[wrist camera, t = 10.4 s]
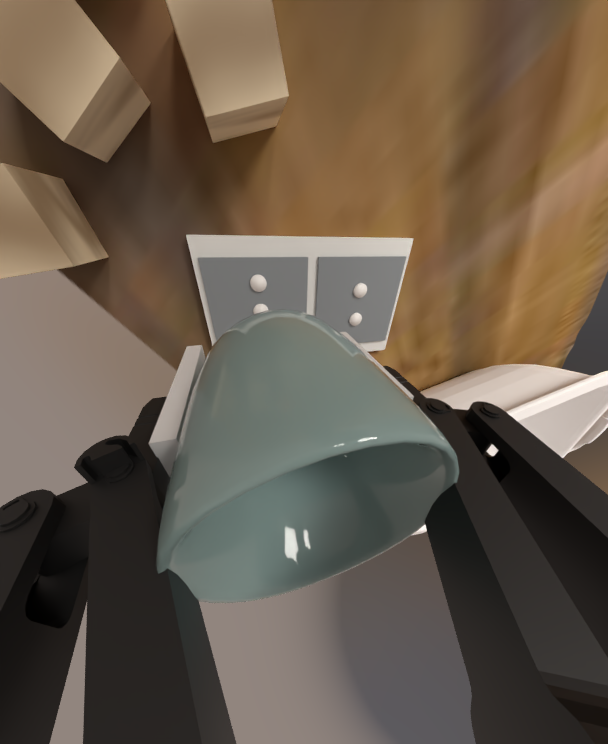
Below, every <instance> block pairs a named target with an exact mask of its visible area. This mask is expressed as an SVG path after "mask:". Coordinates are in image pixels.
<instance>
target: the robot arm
mask: <svg viewBox="0 0 608 744" xmlns="http://www.w3.org/2000/svg"><path fill="white" fill-rule="evenodd" d="M340 333H341V334H343V335H344V336H345V337H346V338H348V339H349V340H350V341H351V342H352V343H353V344H355V345H356V346H357V347H358V348H359V349H360V350H361V351H362V352H363V353H364V354H366V355H367V356H368V357H369V358H370V359H371V360H372V361H373V362H374V363H375V364H376V365H377V366H378V367H379V368H380V369H381V370H382V371H383V372H384V373H385V374H386V375H387V376H388V377H389V378H390V379H391V380H392V381H393V382H394V383H396V384H397V385H398V386H399V387H400V388H401V389H402V390H403V391H404V392H405V393H406V394H407V395H408V396H409V397H410V398H411V399H412V400H413V401H414V402H415V403H416V404H417V405H418V406H419V407H420V409H421V410H422V411H423V412H424V413H425V414H426V415H427V416H428V417H429V418H430V419H431V420H432V421H433V423H434V424H435V425H436V426H437V427H438V429H439V430H440V431H441V432H442V433H443V435H444V436H445V438H446V439H447V440H448V442H449V443H450V444H451V446H452V447H453V449H454V450H455V452H456V454H457V459H458V465H459V476H458V480H457V483H454V484H453V485H452V486H450V487H449V488H448V489H447V490H445V491H444V492H443V493H441V494H440V496H439V497H438V498H437V499H436V501H435V502H434V503H433V504H432V506H431V508H430V510H429V512H428V514H427V517H426V519H425V525H426V529H427V532H428V536H429V539H430V543H431V546H432V550H433V554H434V557H435V561H436V564H437V567H438V571H439V574H440V578H441V582H442V585H443V588H444V592H445V596H446V599H447V603H448V606H449V610H450V613H451V617H452V620H453V624H454V627H455V631H456V635H457V638H458V642H459V645H460V649H461V652H462V656H463V659H464V663H465V666H466V670H467V673H468V676H469V681H470V685H471V692H472V702H471V720H472V727H473V732H474V736H475V741H476V744H608V495H607V494H606V493H605V492H604V491H602V490H601V489H600V488H599V487H597V486H596V485H595V484H594V483H592V482H591V481H590V480H589V479H587V478H586V477H585V476H584V475H583V474H581V473H580V472H579V471H578V470H577V469H575V468H574V467H573V466H572V465H570V464H569V463H568V462H567V461H565V460H564V459H563V458H562V457H561V456H559V455H558V454H557V453H556V452H554V451H553V450H552V449H551V448H550V447H548V446H547V445H546V444H545V443H543V442H542V441H541V440H540V439H538V438H537V437H536V436H535V435H534V434H532V433H531V432H530V431H529V430H527V429H526V428H525V427H524V426H522V425H521V424H520V423H519V422H518V421H516V420H515V419H514V418H513V417H511V416H510V415H509V414H508V413H507V412H505V411H504V410H502V409H501V408H499V407H498V406H495V405H493V404H491V403H488V402H482V401H476V402H473V403H472V404H471V406H470V408H469V409H468V410H462V409H452V407H451V406H450V405H448V404H447V403H445V402H443V401H441V400H438V399H434V398H426V397H425V396H424V395H423V394H421V393H420V392H419V391H418V390H417V389H416V388H415V387H414V386H413V385H411V384H410V383H409V382H407V380H406V379H405V378H404V377H402V376H401V375H400V374H399V373H398V372H397V371H396V370H394V369H392V368H390V367H388V366H382V365H380V364H379V363H378V362H377V361H376V360H375V359H374V358H373V357H372V356H371V355H370V354H369V353H368V352H367V351H366V350H365V349H364V348H363V347H361V346H360V345H359V344H358V343H357V342H356V341H355V340H354V339H353V338H352V337H351V336H350V335H349V334H348V333H347V332H340ZM204 361H205V355H204V351H203V347H202V345H196V346H187V347H186V350H185V353H184V355H183V358H182V360H181V363H180V365H179V368H178V370H177V373H176V375H175V378H174V380H173V383H172V385H171V388H170V391H169V393H168V396H167V397H161V398H153V399H152V400H151V401H149V402H148V403H147V404H146V405H145V406H144V407H143V409H142V411H141V413H140V415H139V418H138V419H137V421H136V423H135V426H134V427H133V429H132V431H131V432H130V435H129V436H114V437H110V438H107V439H105V440H102V441H100V442H98V443H96V444H95V445H93V446H92V447H90V448H89V449H88V450H86V451H85V452H84V453H83V454H82V455H81V456H80V457H79V458H78V460H77V462H76V464H75V467H74V468H75V469H76V470H77V471H78V472H79V473H80V474H81V475H82V476H83V477H84V478H85V479H86V480H87V481H88V483H86V484H84V485H82V486H79V487H76V488H74V489H72V490H69V491H67V492H65V493H63V494H60V495H57V496H56V495H54V494H53V493H52V492H51V491H47V490H43V489H42V490H36V491H31V492H29V493H26V494H24V495H21V496H19V497H17V498H15V499H13V500H12V501H10V502H8V503H7V504H5V505H3V506H2V507H1V508H0V744H49V743H50V739H51V735H52V731H53V728H54V724H55V720H56V716H57V712H58V709H59V705H60V701H61V697H62V693H63V690H64V686H65V682H66V678H67V675H68V671H69V667H70V663H71V659H72V656H73V652H74V648H75V644H76V640H77V636H78V633H79V629H80V625H81V621H82V617H83V614H84V610H85V606H86V602H87V633H86V666H85V667H86V668H85V700H84V702H85V703H84V734H83V744H236V741H235V737H234V734H233V729H232V726H231V722H230V719H229V714H228V711H227V707H226V703H225V699H224V696H223V692H222V688H221V684H220V680H219V677H218V673H217V670H216V665H215V661H214V658H213V654H212V650H211V646H210V642H209V639H208V635H207V631H206V628H205V624H204V620H203V616H202V612H201V609H200V605H199V601H198V600H197V598H196V597H195V596H194V595H193V593H192V592H191V590H190V589H189V587H188V586H187V584H186V583H185V582H184V581H183V580H182V579H181V578H180V577H179V576H178V575H177V574H176V573H174V572H173V571H171V570H169V569H168V568H167V569H166V570H165V571H163V572H161V573H159V574H158V571H157V569H156V567H155V566H156V548H157V542H158V535H159V529H160V523H161V517H162V511H163V507H164V502H165V497H166V492H167V488H168V484H169V480H170V475H171V471H172V467H173V463H174V459H175V455H176V451H177V447H178V443H179V439H180V435H181V431H182V427H183V423H184V419H185V416H186V412H187V408H188V405H189V401H190V398H191V394H192V391H193V388H194V385H195V382H196V379H197V376H198V374H199V371H200V369H201V367H202V364H203V363H204ZM492 444H493V445H494V446H495V447H496V448H497V449H498V452H497V453H496V454H495V455H494V456H491V455H490V454H489V453H488V452H487V450H488V449H489V447H490V446H491V445H492Z"/></svg>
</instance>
